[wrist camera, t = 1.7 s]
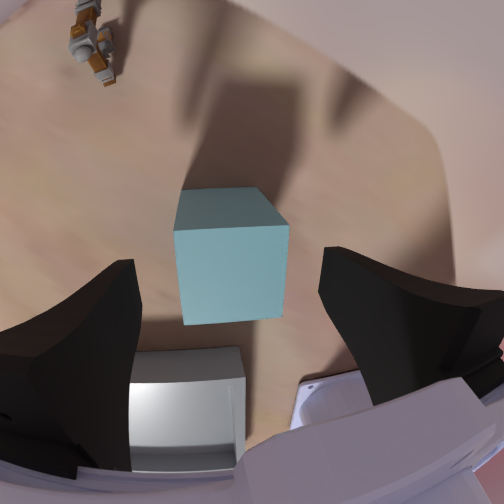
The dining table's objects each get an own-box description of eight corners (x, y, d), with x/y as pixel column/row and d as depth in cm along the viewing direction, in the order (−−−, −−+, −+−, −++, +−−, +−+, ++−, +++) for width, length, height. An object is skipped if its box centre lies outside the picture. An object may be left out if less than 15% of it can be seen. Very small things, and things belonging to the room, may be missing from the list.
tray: (238, 345, 20) (245, 377, 18) (240, 446, 27) (245, 469, 24) (36, 348, 18) (24, 375, 15) (100, 448, 24) (97, 469, 22)
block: (256, 186, 16) (289, 225, 10) (254, 254, 17) (281, 317, 12) (181, 189, 15) (173, 231, 10) (185, 258, 17) (184, 325, 11)
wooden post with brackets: (94, 105, 12) (53, 59, 7) (96, 7, 11) (73, -39, 7) (128, 93, 12) (96, 39, 7) (123, -3, 11) (106, -52, 7)
